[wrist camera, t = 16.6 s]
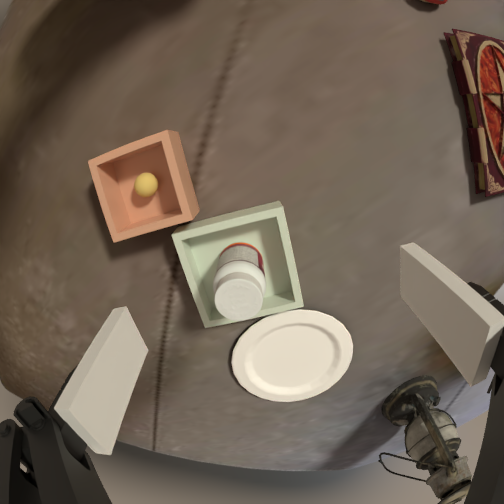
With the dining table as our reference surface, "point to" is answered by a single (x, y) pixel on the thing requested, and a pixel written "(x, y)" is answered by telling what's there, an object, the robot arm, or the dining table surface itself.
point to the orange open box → (133, 205)
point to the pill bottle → (239, 282)
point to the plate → (292, 355)
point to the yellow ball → (146, 184)
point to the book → (482, 103)
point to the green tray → (230, 231)
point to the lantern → (429, 438)
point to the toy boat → (435, 1)
